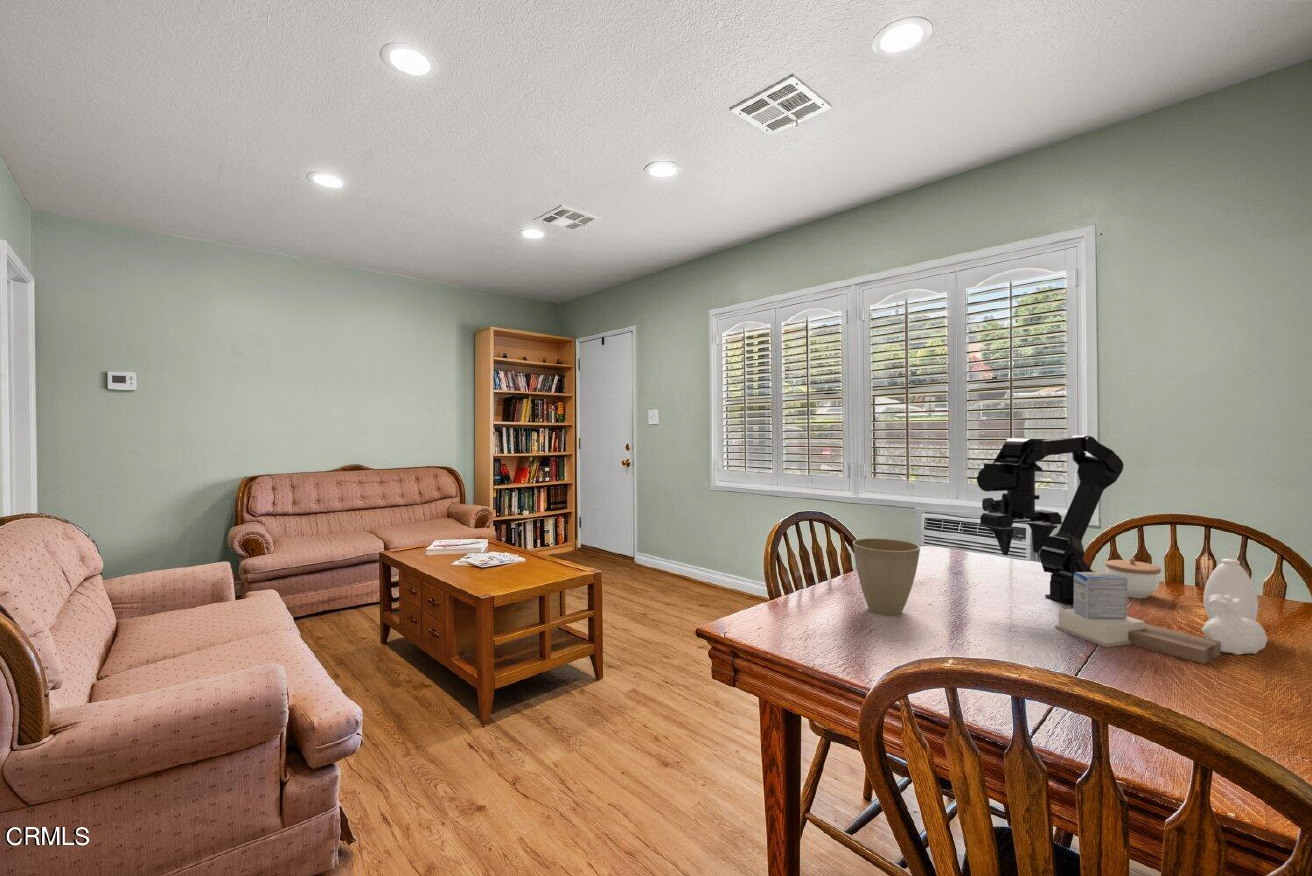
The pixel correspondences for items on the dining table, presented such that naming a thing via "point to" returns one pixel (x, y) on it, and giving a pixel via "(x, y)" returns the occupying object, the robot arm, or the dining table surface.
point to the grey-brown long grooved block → (1175, 643)
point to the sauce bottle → (1232, 587)
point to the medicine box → (1100, 595)
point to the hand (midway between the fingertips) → (1020, 553)
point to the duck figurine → (1233, 627)
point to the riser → (1098, 628)
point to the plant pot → (886, 572)
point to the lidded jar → (1136, 576)
